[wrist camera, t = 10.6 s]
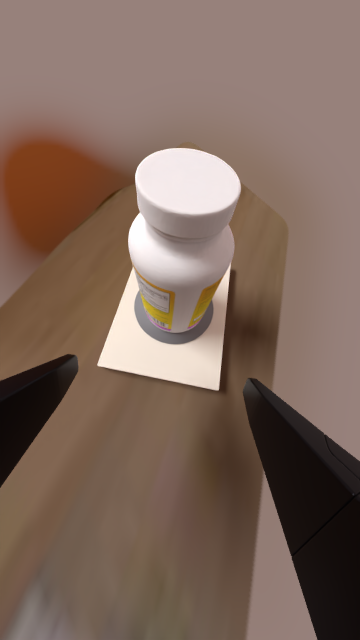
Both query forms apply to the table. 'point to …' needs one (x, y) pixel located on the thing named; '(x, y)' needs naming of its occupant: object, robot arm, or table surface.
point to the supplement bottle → (182, 234)
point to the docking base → (167, 342)
